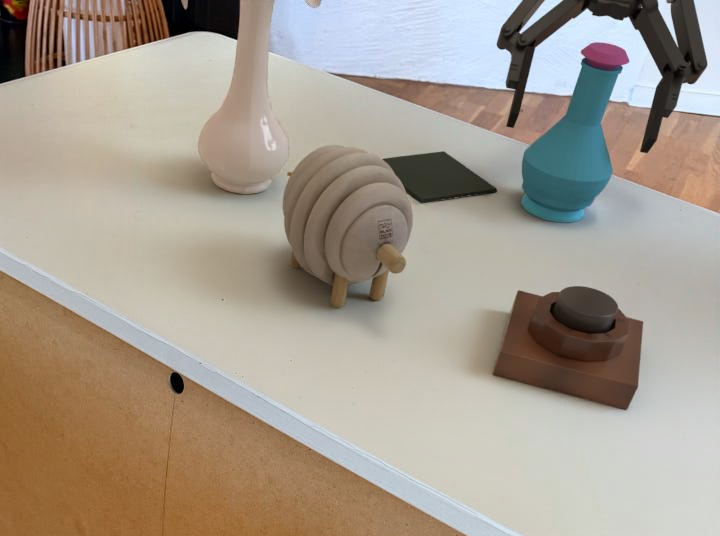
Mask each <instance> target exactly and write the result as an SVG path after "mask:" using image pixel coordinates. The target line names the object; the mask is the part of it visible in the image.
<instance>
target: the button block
mask: <svg viewBox="0 0 720 536" xmlns="http://www.w3.org/2000/svg"><path fill="white" fill-rule="evenodd" d="M560 292H561V291H551V292H549V293H546V294H544V295H539V294H535V293H531V292H527V291H523V290H518V289H517V292H516V294H515V297H514V300H513V303H512V306H511V309H510V312H509V315H508V318H507V322H506V326H505V329H504V333H503V336H502V340H501V343H500V348H499V350H498V354H497V358H496V361H495V365H494V368H493V372H492V375H493V376H495V377H500V378H504V379H508V380H511V381H515V382H518V383H524V384H527V385H530V386H534V387H538V388H542V389H546V390H550V391H553V392H557V393H560V394H565V395H569V396H572V397H576V398H579V399H583V400H587V401H591V402H594V403H598V404H603V405H606V406H611V407H614V408H617V409H622V410H625V411H627V410H628V408H629V407H630V405H631V403H632V401H633V398H634V396H635V395H636V392H637V390H638V388H639V380H640V379H639V378H640V369H641V368H640V367H641V355H642V341H643V329H644V321H643V320H641V319H635V318H631V317H627V316H626V315H625V314H624V312H623V311H622V310H621V309H620V308H619V307H618V311H617V314H616V316H615V318H614V321H613V323H612V325H611V328H610V330H609V331H608V332H607V333H603V334H587V333H583V332H579V331H575V330H572V329H570V328H568V327H566V326H564V325H563V324H561V323H559V322H557V321H556V320H555V318H554V317H553V316H552V312H553V309H554V306H555V304H556V301H557V298H558V296H559V293H560Z"/></svg>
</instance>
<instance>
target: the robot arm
mask: <svg viewBox="0 0 720 536" xmlns="http://www.w3.org/2000/svg"><path fill="white" fill-rule="evenodd" d="M545 1H546V0H521V2H520V3H519V4H518V5H517V7H515V9H514V11H513V12H512V13H511V14H510V15H509V17H508V18H506V21H505V22H504V23H503V24H502V26H501V27H500V31H499V34H498V37H497V41H496V47H497V48H498V49H499V50H501V51H502V50H506V51H507V52H509V53H510V63H509V67H508V71H507V75H506V79H505V88H506V89H510V90H514V93H513V97H512V101H511V105H510V109H509V114H508V118H507V120H506V121H507V122H506V125H505V128H511V129H514V128H515V125H516V123H517V120H518V118H519V116H520V112H521V107H522V103H523V100H524V95H525V92H526V89H527V88H526V87H527V83H528V78H529V76H530V71H531V67H532V63H533V59H534V54H535V51H536V48H537V47H538V46H540V45H541V44H542V43H543V42H545V41H546V40H547V39H548V38H549V37H551V36H552V35H553V34H555V33H556V32H557V31H559V30H560V29H561V28H562V27H564V26H565V25H566V24H567V23H568V22H570V21H571V20H572V19H574V20H575V19H576V18H578V17H579V16H580V15H581V14H582V13H584V12H585V11H586V10H588V11H589V12H591V16H593V17H609V18H611V19H613V20H616V21H622V22H623V21H624V19H627V18H629V21H630V22H631V24H632V27H633V29H634V30H635V31H638V32H639V34H640V36H641V38H642V40H643V42H644V45H645V46H646V48H647V50H648V51H649V54H650V56H651V57H652V60H653V61H654V63H655V66H656V67H657V69H658V72H659V73H660V76H661V78H660V80H659V81H658V83H657V85H656V87H655V91H654V95H653V99H652V103H651V106H650V109H649V110H650V111H649V114H648V118H647V122H646V126H645V130H644V133H643V138H642V142H641V145H640V150H639V152H640V153H642V154H643V153H644V154H648V153H649V152H650V150H651V149H652V148H653V147H654V145H655V144H656V143H657V141H658V138H659V133H660V129H661V125H662V122H663V118H666V119H669V117H670V116H671V115H672V113H673V112H674V110H675V109H676V107H677V106H678V102H679V97H680V94H681V90H682V86H683V85H684V84H689V85H694V84H696V83H697V81H698V80H699V79H700V77H702V74H704V72H705V70H707V68H708V59H707V54H706V50H705V49H706V48H705V45H704V41H703V36H702V31H701V27H700V22H699V17H698V13H697V9H696V3H695V0H665V1H666V4H670V17H671V21H672V25H673V30H674V34H675V38H674V37H673V34H672V32H671V31H670V29H669V27H668V25H667V23H666V21H665V19H664V17H663V15H662V13H661V11H660V8H659V1H658V0H561V1H560V2H559V3H557V4H556V5H555V6H554V7H552V8H551V9H550V10H549V11H548V12H546V13H545V14H544V15H542V16H541V17H539V19H537V20H536V21H535V22H533V23H532V24H531V25H530V26H529V27H527V28H526V29H525V30H523V28H524V27H525V26H526V24H527V23H528V22H529V21H530V19H531V18H532V17H533V16H534V14H535V13H536V12H537V11H538V10H539V8H540V7H541V6H542V5H543V4H544V3H545ZM522 30H523V32H521V31H522ZM520 32H521V33H520ZM675 40H676V41H675Z"/></svg>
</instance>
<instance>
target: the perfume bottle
mask: <svg viewBox="0 0 720 536" xmlns="http://www.w3.org/2000/svg"><path fill="white" fill-rule="evenodd" d="M580 54H581V55H582V56H583V58H582V59H581V62H580V65H581V67H580V71H579V74H578V76H577V79H576V83H575V86H574V88H573V91H572V94H571V98H570V101H569V104H568V107H567V109H566V113H565V115H564V116H563V117H561V119H559V120H558V121H557V122H555V123H554V124H553V125H552V126H551V127H550V128H549V129H548V130H546V132H544V133H543V134H542V135H540V136H539V137H538V138H537V139H535V141H534V142H532V143H531V144H530V145H529V146H528V147H526V149H525V150H524V152H523V156H522V160H521V178H522V184H521V188H522V191H523V192H524V193H525V194H524V195H523V196H522V199H521V206H522V207H523V209H524V210H525V211H527V212H528V213H529V214H531V215H532V216H535V217H537V218H539V219H543V220H546V221H548V222H554V223H575V222H578V221H580V220H581V219H582V218H583V217H584V215H585V209H586V208H588V207H590V206H591V205H592V204H593V203H594V201H595V199H596V198H598V196H599V195H600V194H601V193H602V192H603V191H604V189H605V188H606V187H607V185H608V184H609V182H610V180H611V178H612V176H613V173H614V169H613V165H612V161H611V157H610V152H609V150H608V146H607V142H606V138H605V134H604V130H603V126H602V121H603V118H604V115H605V113H606V110H607V107H608V104H609V102H610V99H611V96H612V94H613V90H614V89H615V85H616V82H617V80H618V77H619V75H620V74H621V73H622V71H623V69H624V67H623V66H625V65H627V64H629V63H630V58H629V56H628V54H627V51H626V49H624V48H623V47H622V46H621V47H620V46H618V45H615V44H612V43H608V42H600V41H599V42H598V41H596V42H591V43H589V44H588V45H586V46H585V47H584V48H582V49H581V50H580Z"/></svg>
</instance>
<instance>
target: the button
mask: <svg viewBox="0 0 720 536" xmlns="http://www.w3.org/2000/svg"><path fill="white" fill-rule="evenodd" d="M559 292H560V293H559V296H558V298H557V301H556V304H555V306H554V309H553V312H552V316H553V317H554V318H555V320H556V321H557V322H559V323H561V324H563V325H564V326H566V327H568V328H570V329H572V330H575V331H579V332H583V333H587V334H603V333H607V332H608V331H609V330H610V328H611V325H612V323H613V321H614V318H615V316H616V314H617V311H618V308H619V305H618V302H617V301H616V300H615V299H614V297H612V296H610V295H609V294H607V293H606V292H603V291H602V290H599V289H596V288H593V287H588V286H583V285H582V286H581V285H573V286H567V287H565V288H563V289H561V290H560V291H559Z"/></svg>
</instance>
